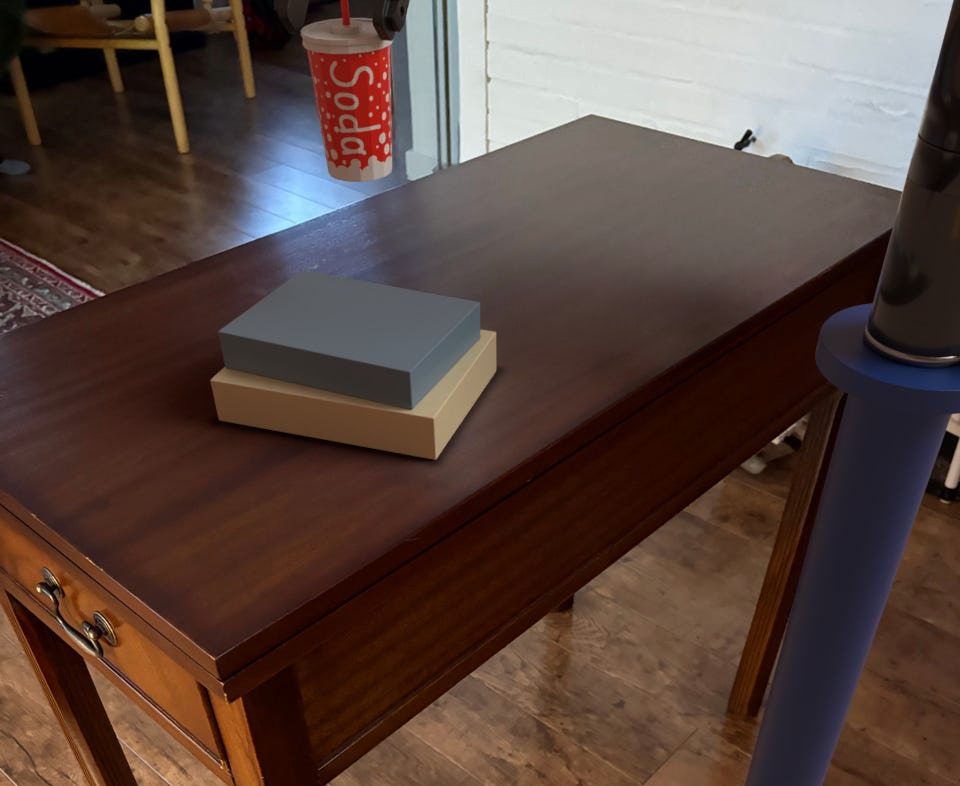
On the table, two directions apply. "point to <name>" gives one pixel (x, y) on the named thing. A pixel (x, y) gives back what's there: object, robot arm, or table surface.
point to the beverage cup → (352, 95)
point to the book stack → (355, 364)
